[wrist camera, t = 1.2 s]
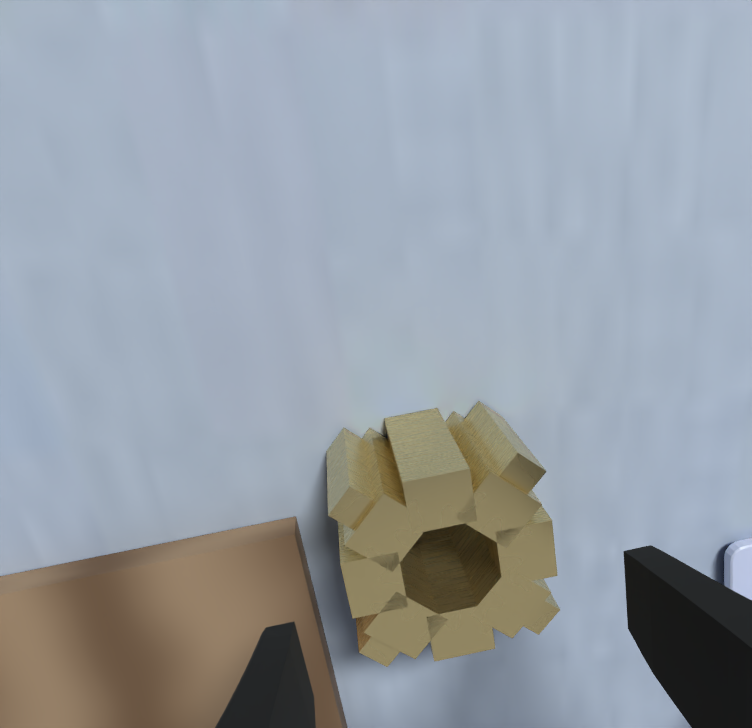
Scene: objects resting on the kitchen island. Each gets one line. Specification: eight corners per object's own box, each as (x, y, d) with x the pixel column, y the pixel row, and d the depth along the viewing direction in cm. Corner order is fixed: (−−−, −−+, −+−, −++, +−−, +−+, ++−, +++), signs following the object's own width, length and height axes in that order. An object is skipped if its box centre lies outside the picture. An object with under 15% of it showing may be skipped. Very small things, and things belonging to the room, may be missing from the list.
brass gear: (497, 394, 18) (547, 450, 14) (516, 546, 19) (565, 635, 15) (322, 429, 17) (322, 496, 14) (355, 579, 19) (363, 678, 15)
